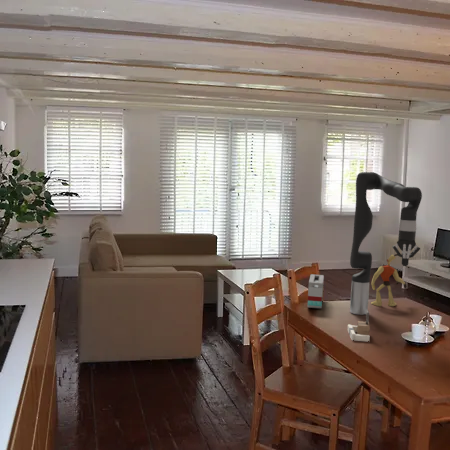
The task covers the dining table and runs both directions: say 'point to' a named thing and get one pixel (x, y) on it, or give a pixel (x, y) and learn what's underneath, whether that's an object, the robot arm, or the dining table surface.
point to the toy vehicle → (315, 291)
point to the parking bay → (356, 336)
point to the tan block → (363, 326)
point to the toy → (386, 281)
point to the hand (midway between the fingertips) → (404, 265)
